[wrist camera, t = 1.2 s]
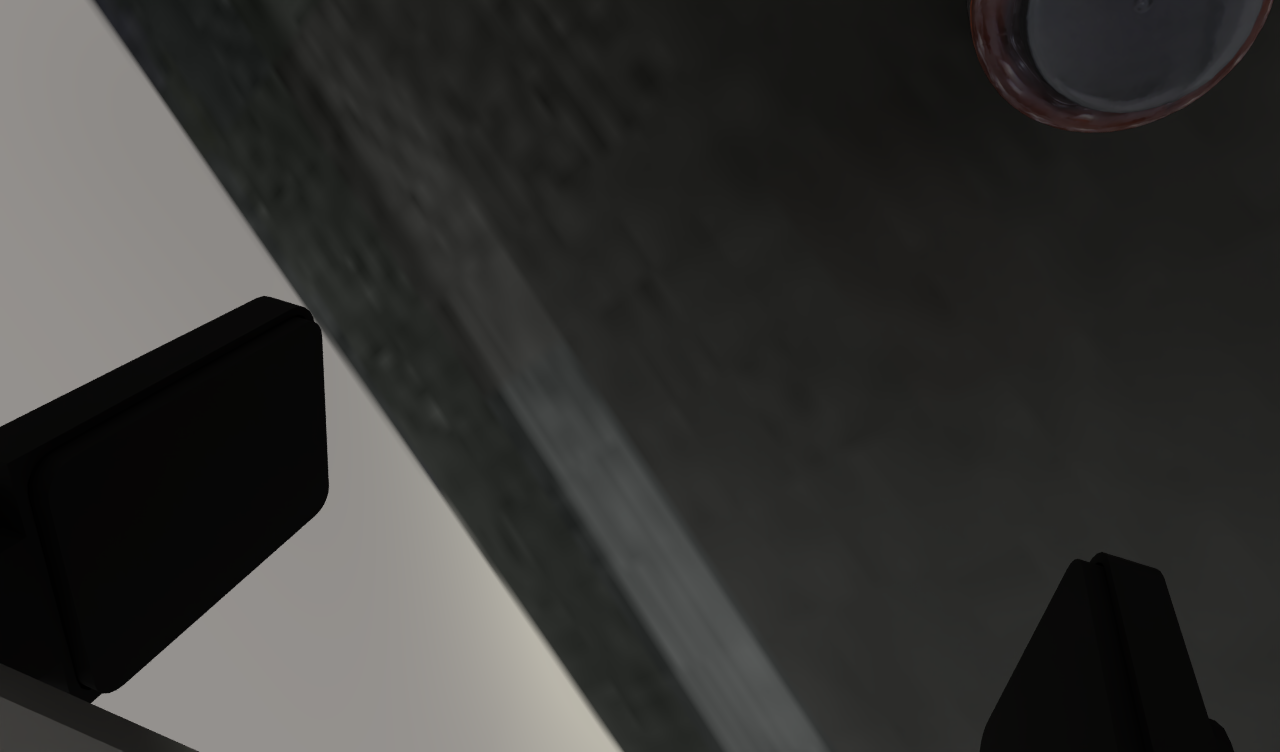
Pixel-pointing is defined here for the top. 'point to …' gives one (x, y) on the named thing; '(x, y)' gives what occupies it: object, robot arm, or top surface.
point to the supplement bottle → (1110, 55)
